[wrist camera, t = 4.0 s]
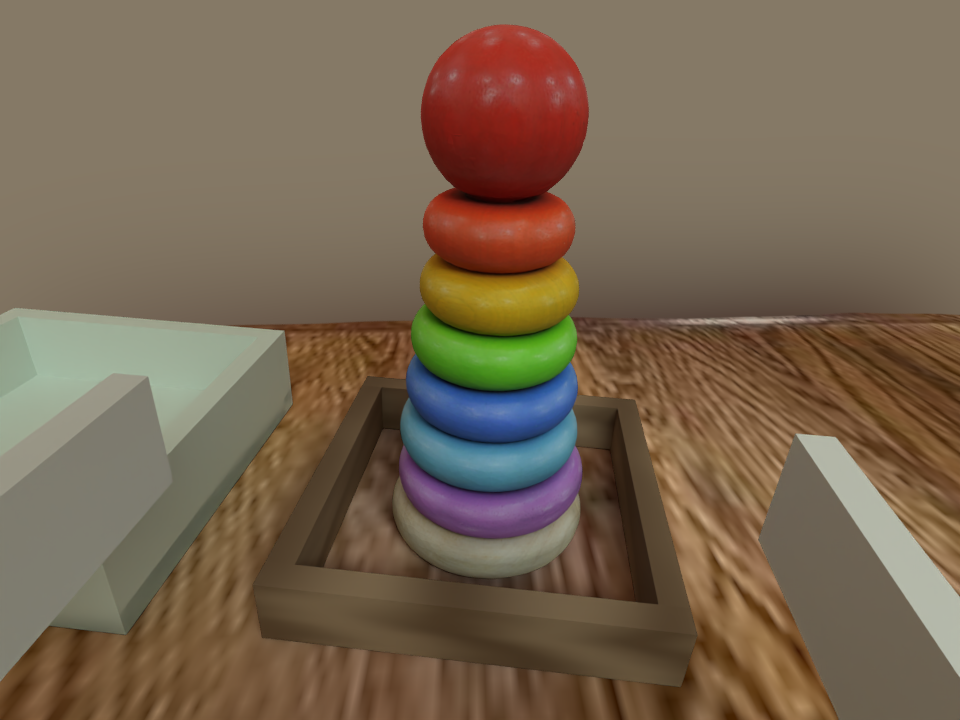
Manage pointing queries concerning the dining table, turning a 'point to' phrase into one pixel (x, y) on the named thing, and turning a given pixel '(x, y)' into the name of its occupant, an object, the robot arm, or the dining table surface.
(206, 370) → the sage tray
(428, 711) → the dining table surface
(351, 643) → the walnut holder
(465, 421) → the stacking toy
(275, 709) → the dining table surface
